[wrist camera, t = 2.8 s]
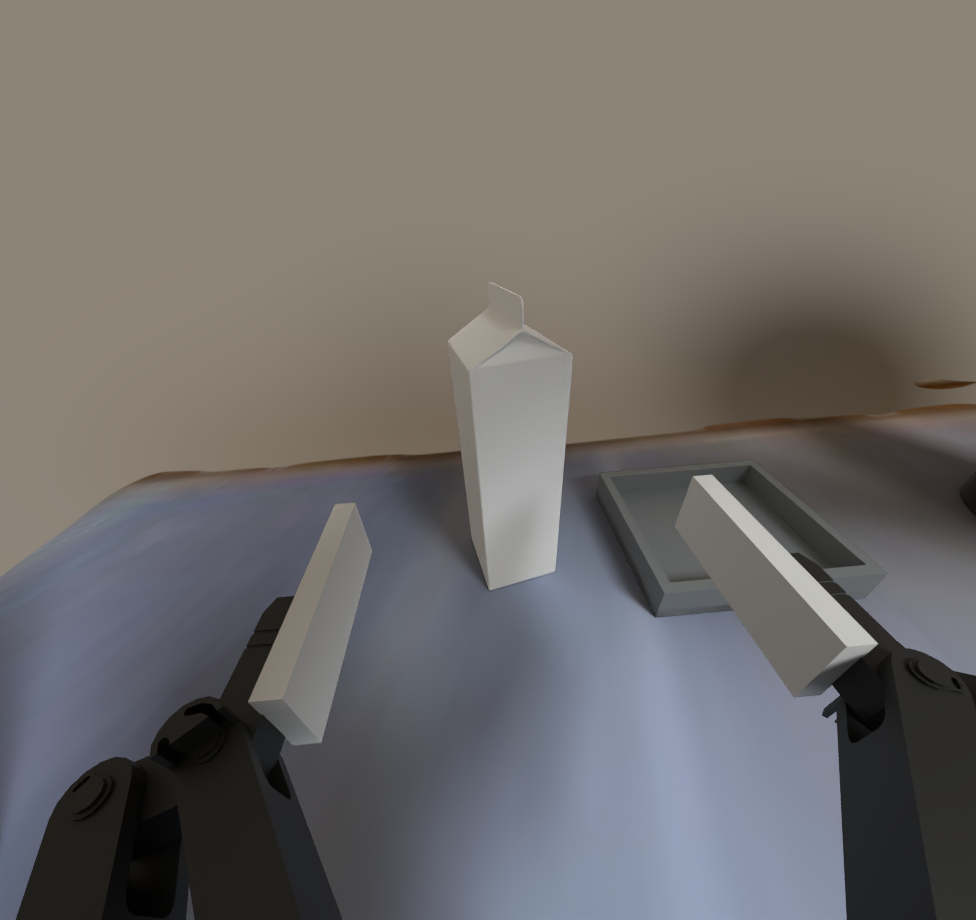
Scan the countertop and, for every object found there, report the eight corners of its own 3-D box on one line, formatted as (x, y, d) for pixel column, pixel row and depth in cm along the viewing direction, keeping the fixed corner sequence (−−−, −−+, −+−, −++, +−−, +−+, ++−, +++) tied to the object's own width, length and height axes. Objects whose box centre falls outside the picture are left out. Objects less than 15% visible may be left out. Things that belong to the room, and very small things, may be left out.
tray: (742, 482, 38) (753, 459, 36) (864, 598, 26) (888, 573, 25) (596, 494, 38) (599, 472, 36) (655, 617, 26) (664, 593, 24)
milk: (529, 524, 35) (535, 275, 22) (556, 573, 30) (582, 290, 17) (470, 540, 33) (440, 285, 21) (487, 593, 29) (462, 303, 16)
